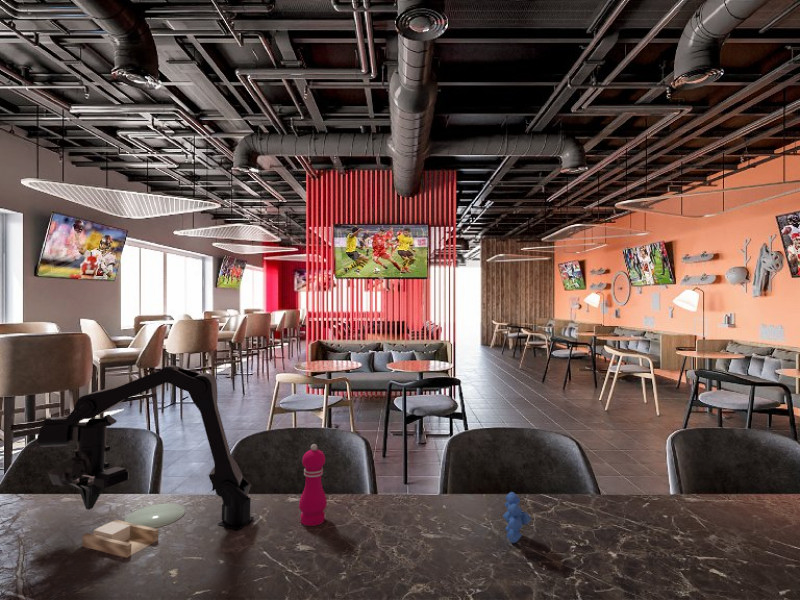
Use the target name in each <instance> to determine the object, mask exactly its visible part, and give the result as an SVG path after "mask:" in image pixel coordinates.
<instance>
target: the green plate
mask: <svg viewBox="0 0 800 600" xmlns="http://www.w3.org/2000/svg"><path fill="white" fill-rule="evenodd" d="M185 514H186V507H185V506H183V505H182V504H178V503H158V504H153V505H150V506H149V505H148V506H145V507H143V508H139V509H137V510H135V511H133V512H131V513H130V514H129V515H127V516H126V517H125V519H124V522H128V523H133V524H137V525H142V526H146V527H151V528H155V529H158V528H160V527H165V526H167V525H170V524H172V523H174V522H176V521H178V520H180V519H181V518H182V517H183V516H184V515H185Z"/></svg>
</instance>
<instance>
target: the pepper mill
mask: <svg viewBox="0 0 800 600" xmlns="http://www.w3.org/2000/svg"><path fill="white" fill-rule="evenodd" d="M301 461H302V462H301V463H302V466H303V467H304V469H303V476H305V482H304V484H305V485H304V488H303V491H302V493H301V496H300V499H299V503H298V508H299V511H300V512H301V514H300V523H301V524H302V525H303V524H304V525H303V526H306V525H308V526H307V527H315V526H318V525H321V524H323V523H324V521H325V517H326V513H325V509H326V508H327V506H328V505H327V503H328V502H327V500H328V499H327V496H326V493H325V490H324V489H323V485H322V475H323V474H324V467H323V466H324V465H325V463H326V456H325V454H324V452H323V451H322V450H320V449H318V445H317V444H316V443H313V444H311V446H310V450H307V451H306V452H305V453H304V454H303V456H302V460H301ZM314 525H315V526H314Z"/></svg>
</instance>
